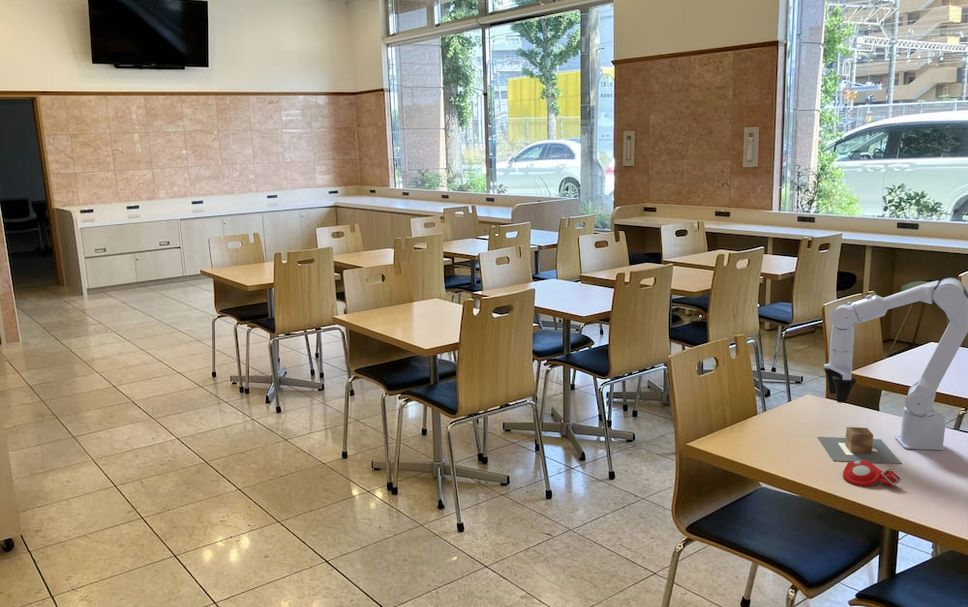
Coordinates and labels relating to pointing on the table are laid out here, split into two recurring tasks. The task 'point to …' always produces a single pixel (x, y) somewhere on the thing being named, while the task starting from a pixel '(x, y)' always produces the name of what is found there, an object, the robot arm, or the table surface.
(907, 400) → the robot arm
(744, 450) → the table surface
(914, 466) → the table surface
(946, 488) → the table surface
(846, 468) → the tracker holder
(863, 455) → the letter mat
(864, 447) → the walnut cube
